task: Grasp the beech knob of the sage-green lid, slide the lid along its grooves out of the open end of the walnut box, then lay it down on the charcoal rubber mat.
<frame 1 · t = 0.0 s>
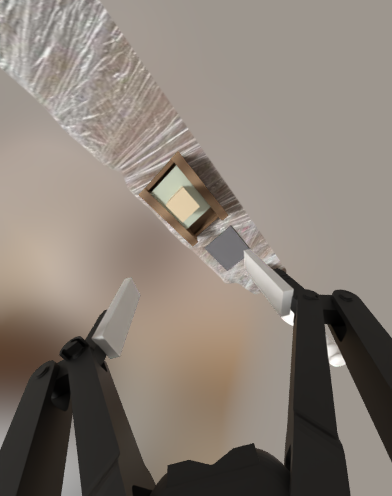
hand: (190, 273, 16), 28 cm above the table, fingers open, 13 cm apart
walnut box: (185, 202, 39), on the table
mat: (228, 249, 48), on the table
bottle: (259, 272, 54), on the table
lid: (181, 199, 34), point 5 cm above the table, touching walnut box
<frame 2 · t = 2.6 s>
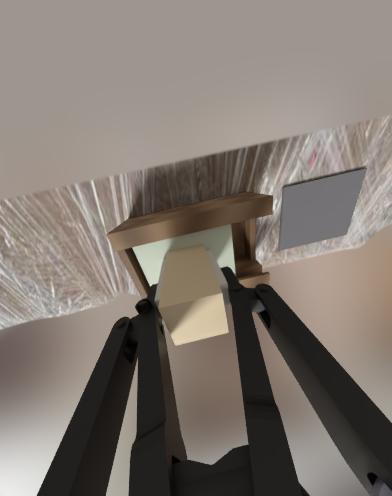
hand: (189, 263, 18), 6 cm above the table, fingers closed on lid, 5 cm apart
walnut box: (195, 242, 23), on the table
mat: (316, 213, 24), on the table
lid: (188, 258, 19), point 5 cm above the table, touching gripper, walnut box
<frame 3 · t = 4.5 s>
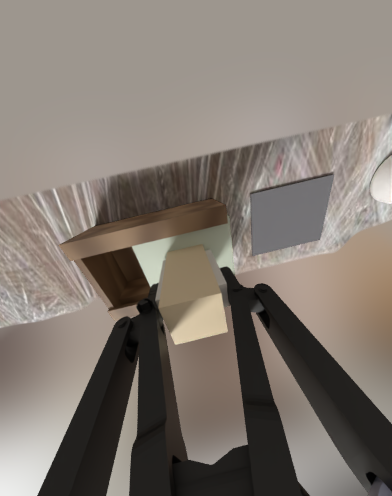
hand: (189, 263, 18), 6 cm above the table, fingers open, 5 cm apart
walnut box: (166, 248, 23), on the table
mat: (287, 218, 24), on the table
bottle: (389, 176, 23), on the table
lid: (188, 259, 19), point 5 cm above the table, touching gripper, walnut box
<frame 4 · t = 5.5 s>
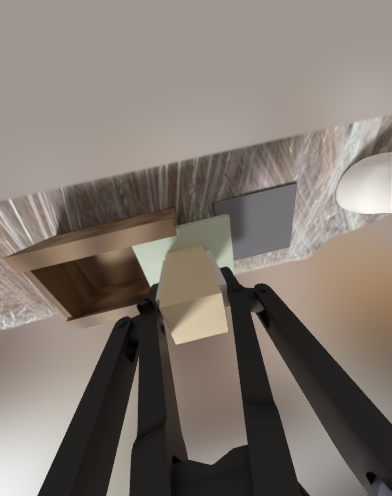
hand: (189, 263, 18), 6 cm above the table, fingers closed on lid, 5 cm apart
walnut box: (132, 256, 23), on the table
mat: (254, 226, 24), on the table
bottle: (354, 184, 23), on the table
lid: (188, 259, 19), point 5 cm above the table, touching gripper
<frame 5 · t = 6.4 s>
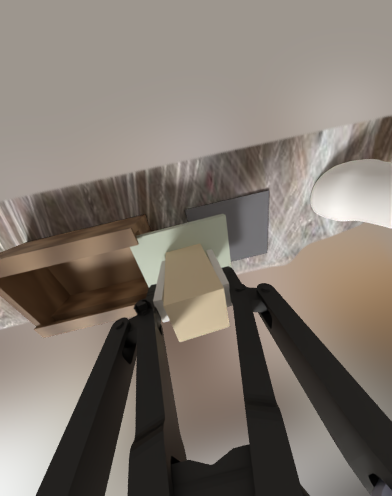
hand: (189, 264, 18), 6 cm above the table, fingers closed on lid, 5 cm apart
walnut box: (106, 262, 23), on the table
mat: (229, 233, 24), on the table
bottle: (329, 191, 23), on the table
lid: (186, 258, 19), point 5 cm above the table, touching gripper, walnut box
when the fingers open (5 cm above the table, at t = 10.5 s): lid stays where it is, resting on mat.
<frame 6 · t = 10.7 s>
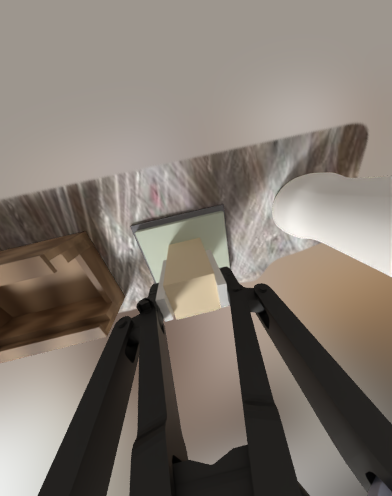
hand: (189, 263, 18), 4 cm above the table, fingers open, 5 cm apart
walnut box: (50, 282, 21), on the table
mat: (186, 249, 22), on the table
bottle: (293, 204, 21), on the table
lid: (187, 251, 21), resting on mat, touching gripper
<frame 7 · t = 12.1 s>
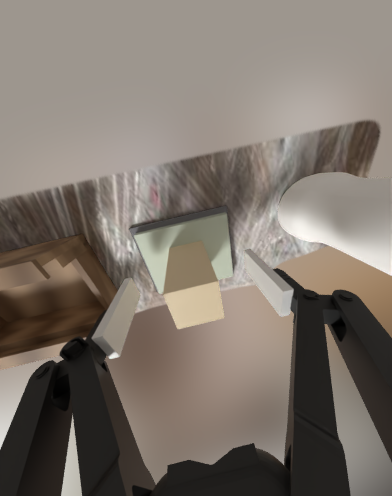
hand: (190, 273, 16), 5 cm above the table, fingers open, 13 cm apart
walnut box: (46, 286, 20), on the table
mat: (187, 252, 21), on the table
bottle: (300, 205, 20), on the table
lid: (188, 254, 20), resting on mat
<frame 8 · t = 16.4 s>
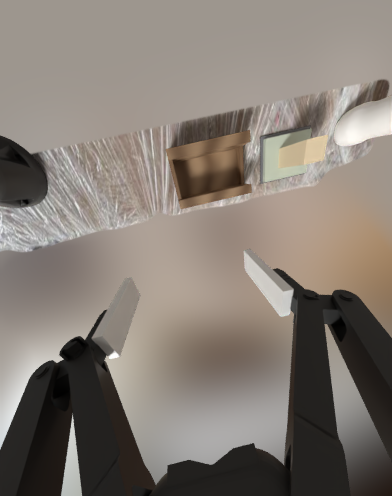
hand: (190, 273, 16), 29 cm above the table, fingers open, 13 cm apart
walnut box: (206, 174, 38), on the table
mat: (283, 156, 38), on the table
bottle: (345, 129, 37), on the table
lid: (284, 157, 38), resting on mat
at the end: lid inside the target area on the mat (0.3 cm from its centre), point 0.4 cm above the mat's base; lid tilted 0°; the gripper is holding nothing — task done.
